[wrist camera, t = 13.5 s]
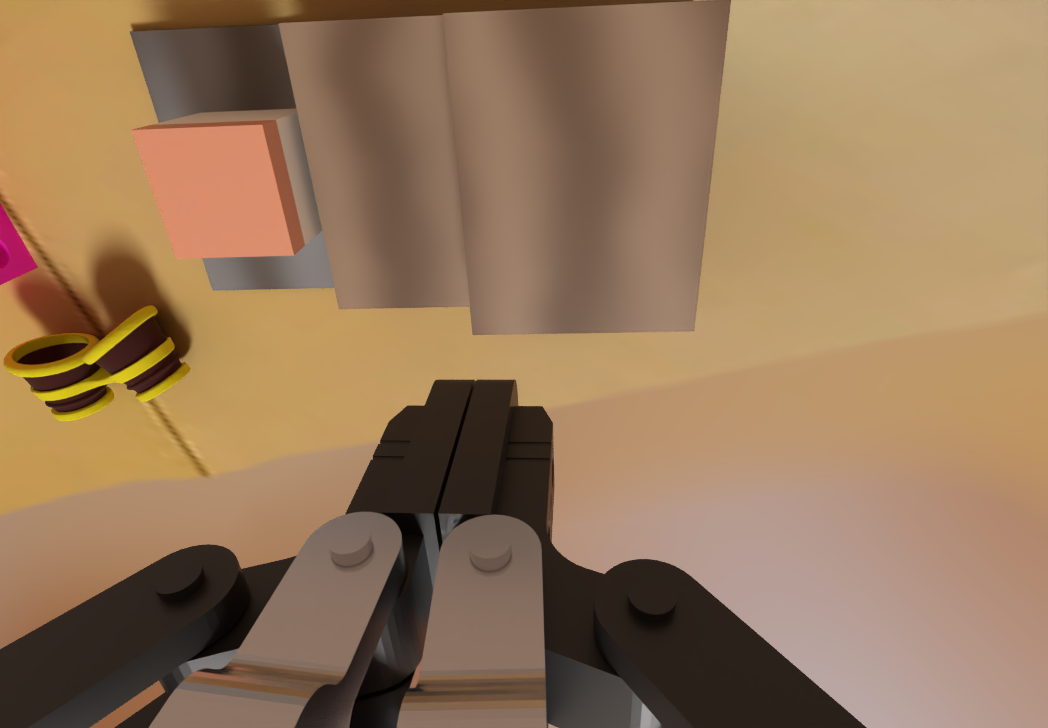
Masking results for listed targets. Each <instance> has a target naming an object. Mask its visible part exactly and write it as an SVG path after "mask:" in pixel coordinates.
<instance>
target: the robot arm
mask: <svg viewBox="0 0 1048 728" xmlns="http://www.w3.org/2000/svg"><path fill="white" fill-rule="evenodd" d="M553 503H554V455H553V423H552V421H551V419H550V418H549V416H548V415H547V413H546V411H545V410H544V408H543V406H518V394H517V383H516V380H476V381H475V380H435V382H434V384H433V386H432V389H431V391H430V394H429V396H428V399H427V401H426V404H425V406H407V407H405V408H404V409H403V410H402V411H401V412H400V413H399V414H397V415H396V416H395V417H394V418H393V419H392V420H390V421H389V423H388V425H387V427H386V429H385V431H384V434H383V436H382V438H381V440H380V444H378V446H377V449H376V450H375V453H374V455H373V460H371V461H370V463H369V465H368V467H367V470H366V472H365V474H364V476H363V478H362V481H361V482H360V484H359V487H358V489H357V491H356V493H355V495H354V497H353V499H352V501H351V504H350V505H349V508H348V510H347V512H346V514H345V515H342V516H339V517H337V518H335V519H332V520H330V521H328V522H327V523H325V524H323V525H322V526H321V527H319V528H318V529H317V530H316V531H314V532H313V533H312V534H311V535H310V537H309V538H308V539H307V541H306V542H305V544H304V545H303V547H302V548H301V550H300V551H299V553H298V555H297V556H294V557H291V558H287V559H283V560H279V561H275V562H270V563H267V564H262V565H257V566H253V567H248V568H244V569H241V568H240V565H239V562H238V560H237V558H236V556H235V555H234V554H233V552H231V551H230V550H229V549H227V548H225V547H222V546H218V545H198V546H192V547H188V548H185V549H181V550H179V551H176V552H174V553H171V554H169V555H167V556H166V557H164V558H162V559H160V560H159V561H156V562H155V563H153V564H151V565H149V566H147V567H146V568H144V569H142V570H140V571H139V572H137V573H135V574H133V575H132V576H130V577H128V578H126V579H125V580H123V581H121V582H119V583H117V584H115V585H114V586H112V587H110V588H108V589H107V590H105V591H103V592H101V593H99V594H98V595H96V596H94V597H92V598H91V599H89V600H87V601H85V602H84V603H82V604H80V605H78V606H76V607H75V608H73V609H71V610H69V611H68V612H66V613H64V614H62V615H60V616H59V617H57V618H55V619H53V620H52V621H50V622H48V623H46V624H44V625H43V626H41V627H39V628H37V629H36V630H34V631H32V632H30V633H28V634H27V635H25V636H23V637H21V638H19V639H18V640H16V641H14V642H12V643H11V644H9V645H7V646H5V647H4V648H2V649H0V728H89V727H91V726H92V725H93V724H95V723H97V722H98V721H99V720H101V719H102V718H104V717H105V716H107V715H108V714H110V713H111V712H113V711H114V710H116V709H117V708H119V707H120V706H122V705H123V704H124V703H126V702H128V701H129V700H130V699H132V698H133V697H135V696H136V695H138V694H139V693H141V692H142V691H144V690H145V689H146V688H148V687H150V686H151V685H152V684H154V683H155V682H157V681H158V680H159V681H160V683H161V685H162V687H163V688H164V690H165V693H163V694H162V695H161V696H159V697H158V698H156V699H155V700H153V701H152V702H151V703H149V704H148V705H146V706H145V707H144V708H142V709H141V710H139V711H138V712H136V713H135V714H133V715H132V716H131V717H129V718H128V719H126V720H125V721H123V722H122V723H120V724H119V725H118V726H116V727H115V728H548V723H549V724H551V725H554V726H556V727H558V728H866V727H865V726H864V725H863V724H862V723H861V722H859V721H858V720H857V719H856V718H855V717H854V716H852V715H851V714H850V713H849V712H848V711H847V710H845V709H844V708H843V707H842V706H841V705H840V704H838V703H837V702H836V701H835V700H834V699H833V698H832V697H830V696H829V695H828V694H827V693H826V692H825V691H823V690H822V689H821V688H820V687H819V686H818V685H816V684H815V683H814V682H813V681H812V680H811V679H809V678H808V677H807V676H806V675H805V674H804V673H802V672H801V671H800V670H799V669H798V668H797V667H796V666H794V665H793V664H792V663H791V662H790V661H789V660H787V659H786V658H785V657H784V656H783V655H782V654H780V653H779V652H778V651H777V650H776V649H775V648H773V647H772V646H771V645H770V644H769V643H768V642H767V641H765V640H764V639H763V638H762V637H761V636H759V635H758V634H757V633H756V632H755V631H754V630H753V629H751V628H750V627H749V626H748V625H747V624H746V623H744V622H743V621H742V620H741V619H740V618H739V617H737V616H736V615H735V614H734V613H733V612H732V611H731V610H729V609H728V608H727V607H726V606H725V605H724V604H722V603H721V602H720V601H719V600H718V599H717V598H715V597H714V596H713V595H712V594H711V593H710V592H708V591H707V590H706V589H705V588H704V587H703V586H701V585H700V584H699V583H698V582H697V581H696V580H694V579H693V578H692V577H691V576H690V575H688V574H687V573H686V572H684V571H683V570H681V569H679V568H677V567H676V566H673V565H671V564H668V563H665V562H661V561H657V560H649V559H637V560H631V561H627V562H623V563H621V564H619V565H617V566H614V567H613V568H611V569H610V570H609V571H607V572H606V573H605V574H602V573H599V572H596V571H593V570H589V569H586V568H583V567H581V566H579V565H576V564H574V563H573V562H571V561H569V560H568V559H566V558H565V557H563V556H562V555H561V554H560V553H559V552H558V551H557V550H556V549H555V547H554V546H553V544H552V522H553Z"/></svg>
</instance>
